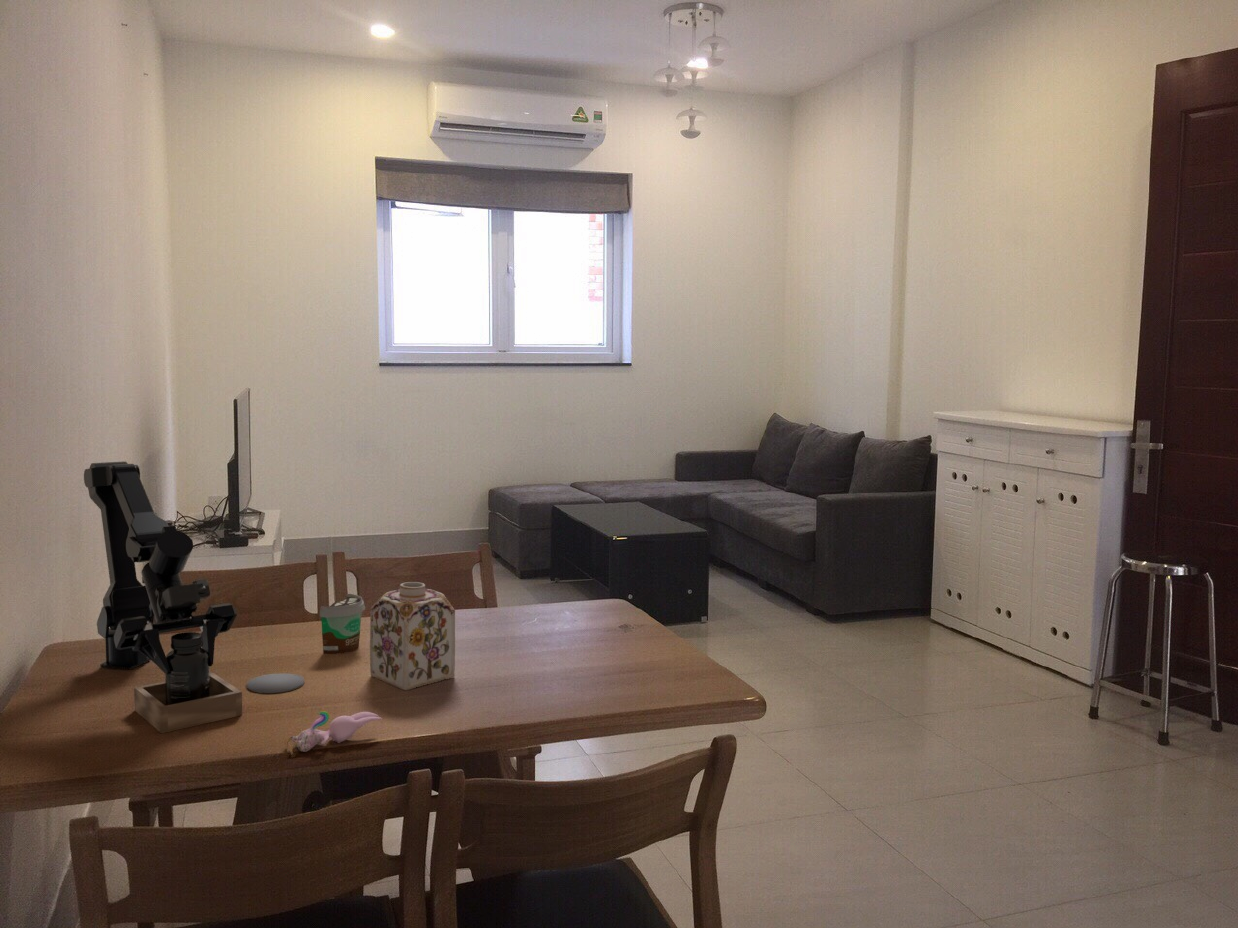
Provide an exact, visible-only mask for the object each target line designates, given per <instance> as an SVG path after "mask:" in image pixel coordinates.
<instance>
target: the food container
mask: <svg viewBox="0 0 1238 928" xmlns="http://www.w3.org/2000/svg"><path fill="white" fill-rule="evenodd" d="M365 610H366V606H365V602H364V600H363V597H362V596H360V595H358V594H354V593H346V598H344V599H342V600H338V601H335V602H333V603H332V604H331V605H329V606H320V610H319V618H320V620H321V622H320V623H321V636H322V637H321V639H322V650H323V651H322V652H323V653H322V654H323V655H339V653H340V654H346V653H350V652H354V651H356V650H358V649H359V647H360V637H361V636H360V635H361V625H362V613H363V612H364V611H365ZM337 653H338V654H337Z"/></svg>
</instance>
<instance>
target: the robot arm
mask: <svg viewBox="0 0 1238 928" xmlns="http://www.w3.org/2000/svg"><path fill="white" fill-rule="evenodd" d="M83 481H84V483H83V484H84V486H85V487H86V488H87V489H88V494H89V498H90V500H91V501H92V502H93V503H94V504H95V505H96V506H97V507H98V509H99V510H100V514H101V522H102V529H103V530H102V531H103V537H104V544H105V545H104V547H105V553H106V561H107V567H108V568H107V571H108V575H109V584H110V585H109V586H108V588H107V590H106V592H105V594H104V596H103V599H102V603H103V604H102V607H101V610H100V612H99V615H98V618H97V621H96V627H97V635H99V636H101V637H102V638H103V639H105V662H102V663H100V666H99V667H100V668H107V669H116V670H118V669H119V670H125V671H126V670H131V669H132V670H133V669H134V668H136V667H139V666H141V665H143V664H145V663H148V662H150V661H152V663H154V664H155V666H157V668H158V669H160V670H161V671H162V673H164V675H165V674H166V675H167V674H169V673H170V669H169V664H168V661H167V658H166V654H165V652H164V651H165V650H164V648H163V646H162V643H161V638H160V634H164V633H169V632H175V631H182V630H188V629H189V630H190V629H194V628H199V629H200V631H201V632H200V634H202V642H203V645H202V646H201V648H203V649H204V650H206V651H207V652H208V654H209V667H213V664H214V658H215V657H214V656H215V640H216V638H217V637H218V636H219V634H221V633H226V632H228V631H230V629H231V627H232V626H233V624H234V621H235V620H236V618H237V617H238V613H237V610H236V608H235V606H234V605H233V604H232V603H228V602H227V603H222V604H215V605H213V604H212V605H209V607H208V609H207V611H206V613H205V614H198V615H195V616H194V615H193V613H195V612H196V610H197V608H198V607H197V604H201V602H202V600H203V599H207V598H209V597H210V595H211V589H210V585H209V583H208V579H207V578H200V579H195V580H194V581H193V582H192V583H190V584H189V583H188V584H183V580H182V578H181V575H180V573H181V572H182V571H184V569H185V567H186V565H187V562H188V560H189V558H190V555H191V553H192V551H193V549H194V541H193V539H192V538H191V537H190V536H189V535H188V534H187V533H184V532H183V531H180V530H178V529H177V528H176V525H169V524H168V522H167V521H166V520H165V519H162V518H161V517H159V516H157V515H156V513H155V511H154V509H153V506H152V504H151V501H150V499H149V496H148V494H147V492H146V489H145V487H144V484H143V482H142V480H141V469H140V468H139V465H138V464H134V463H128V462H127V461H110V462H109V461H108V462H92V463H91V464H90V466H89V468H86V469H84V471H83ZM146 562H147V563H146ZM136 563H146V564H145V565H144V566H143V568H142V569H141V572H140V573H141V576H142V577H141V582H140V580H138V578H137V577H138V576H137V572H136V571H137V570H136ZM143 584H144V585H143ZM154 619H155V621H154Z"/></svg>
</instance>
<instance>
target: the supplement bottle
mask: <svg viewBox="0 0 1238 928" xmlns="http://www.w3.org/2000/svg"><path fill="white" fill-rule="evenodd" d="M202 645H203V642H202V634H201V632H196V631H187V632H180V633H179V632H178V633H175V634H173V635H171V638H170V648H171V651H168V653H167V654H165V656H166V658H167V661H168V664H169V669H170V673H169V674H167V675H166V674H165V673H164V680H165V681H164V682H165V691H166V706H167V705H172V704H177V703H182V702H186V701H191V700H196V699H201V698H205V697H210V690H209V673H210V666H209V654H208V652H207V651H206V650H204V649H203V648H202Z"/></svg>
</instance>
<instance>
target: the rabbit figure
mask: <svg viewBox="0 0 1238 928" xmlns="http://www.w3.org/2000/svg"><path fill="white" fill-rule="evenodd" d="M317 715H320V717H319V718H318V719H316V720H314V722H313V723H312V725H311V726H310V727H309V728H307V729H305V730H302V731H301V732H300V733H299V734H297V735H296V736H292V735H290V736H289V737H288V739H287V740H286V738H283V740H284V747H285V748H286V750H287V749H288V745H289V753H290V754H291V755H293V754H294V753H293V748H294V746H295V747H296V748H298V750H299V751H300V752H302V753H307V752H309V751H310V750H312V749H313V748H314V747H315V746H316V745H325V744H326V743H327V742H328V740H329V739H330V738H331V741H333V742H336V743H337V744H340V743H341V742H344V741H346V740H347V739H349V738H352V737H353V736H354V734H355V733H356V731H357V730H358V729H360V728H362V727H363V726H365V725H366V724H368V723H370V722H372V721H376V720H378V721H379V720H382V719H383V718H382V717H381V716H379V715H378V714H376V713H373V712H371V711H361V712H357V713H354V714H352V715H350V716H349V715H341V716H340V715H339V716H337V717H335V718H334V719H333V720H332V721H331V722H330V724H329V729H328V730H326V731H325V730H321V729H317V727H323V726H324V725H325V724H327V723H328V721H329V719H330V718H329V716H330V715H329V713H328V712H327V711H326V710H322V711H319V712H318V713H317ZM290 741H292V742H293V744H290V743H289V742H290Z"/></svg>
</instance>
